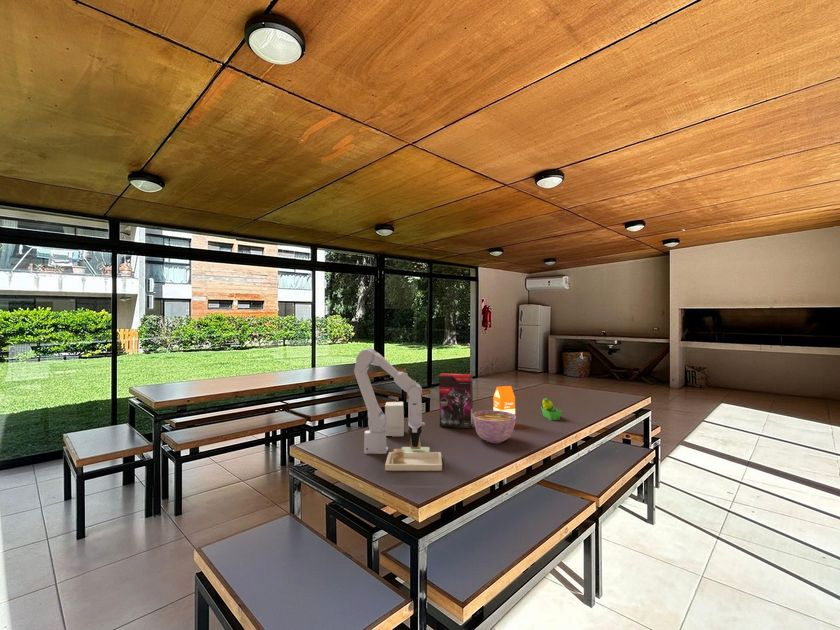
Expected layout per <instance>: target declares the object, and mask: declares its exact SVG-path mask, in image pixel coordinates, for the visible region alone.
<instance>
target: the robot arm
mask: <svg viewBox="0 0 840 630" xmlns="http://www.w3.org/2000/svg"><path fill="white" fill-rule="evenodd" d="M371 366H376V367H380V368H381V369H383V371H385V372H386V373H387V374H388V375H390V376H391V377H393V382H394V383H395V384H396V385H397V386H398V387H399V388H400V389H402V390H403V391H404V392H406V393H407V397H408V404H407V405H408V406H407V407H408V414H407V415H408V420H407V421H408V423H407V426H408V428H409V429H408V430H407V433H408V434H409V436H410V442H411V441H412V446H413V447H418V442H419V437H420V438H421V434H422V428H423V426H425V425H426V424H425V422H423V402H422V393H423V388H422V386H421V384H420V383H418V382H417V381H416V380H414V379H412V378H411V377H410V376H408V375H409V373H408V372H404V371H399V370H397V369H396V368H395V367H394V366H393V365H392V364H391V363H390V362H389V361H388V360H387V359H386V358H385V357H384V356H383V355H382V354H381V353H379V352H377V351H376V350H375V349H374V348H372V347H369V348H366V349H363V350H361V351H360V352H359V353H358V355H356V357H355V365H354V370H353V373H354V376H355V378H356V382H357V384H358V387H359V390H360V393H361V396H362V398H363V401H364V405H365V408H366V409H367V419H368V428H369V430H368V429H367V430H365V431H364V437H363V453H364V454H379V455H380V454H381V455H382V454H388V451H389V450H388V449H389V447H388V446H387V437H386V428H385V424H386V422H387V417H386V415H385V412H383V410H382V408H381V407H380V405H379V403H378V400H377V398H376V395H375V392H374V389H373V386H372V383H371V380H370V377H369V375H368V370H369V369H370V367H371Z"/></svg>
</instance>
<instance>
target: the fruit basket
mask: <svg viewBox="0 0 840 630" xmlns="http://www.w3.org/2000/svg"><path fill="white" fill-rule="evenodd" d="M541 402H542V406H540V409H541V411H542V415H543V417H544V418H546V419H548V420H549V421H560V418H561V414H562V413H563V412H562V411H563V410H560V409H558V408H556V407H554V406H553V405H554V403H553V402H552V401H551V400H549V399H548V398H545V397H544V398H543V400H542V401H541Z"/></svg>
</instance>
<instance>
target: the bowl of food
mask: <svg viewBox="0 0 840 630" xmlns="http://www.w3.org/2000/svg"><path fill="white" fill-rule="evenodd" d="M516 421H517V416H516V414H515V415H514V414H512V413H509V412H504V411H494V410H490V409H489V410H480V411H479V410H478V411H475V412H473V425H474V428H475V432H476V434H477V435H478V437H479V438H481V439H482V440H484V441H485V440H486V441H485V442H486V443H489V442H490V443H491V444H501V443H503V442H504V441H505V442H506V440H508V439H510V438H511V436H512V435H513V432H514V428H515V426H516Z"/></svg>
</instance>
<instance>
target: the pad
mask: <svg viewBox="0 0 840 630" xmlns="http://www.w3.org/2000/svg"><path fill="white" fill-rule="evenodd" d="M401 449H404V452H431V451H430V446H420V449H411V446H401Z"/></svg>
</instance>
